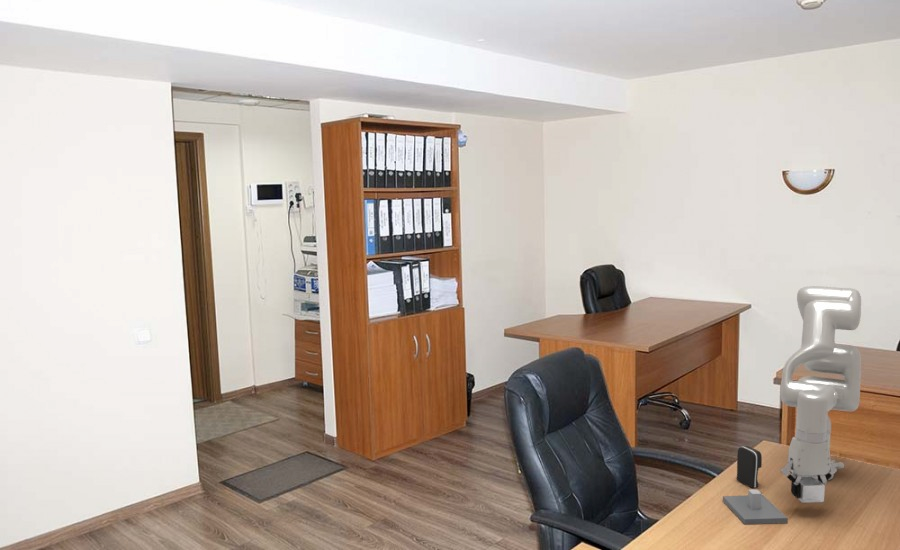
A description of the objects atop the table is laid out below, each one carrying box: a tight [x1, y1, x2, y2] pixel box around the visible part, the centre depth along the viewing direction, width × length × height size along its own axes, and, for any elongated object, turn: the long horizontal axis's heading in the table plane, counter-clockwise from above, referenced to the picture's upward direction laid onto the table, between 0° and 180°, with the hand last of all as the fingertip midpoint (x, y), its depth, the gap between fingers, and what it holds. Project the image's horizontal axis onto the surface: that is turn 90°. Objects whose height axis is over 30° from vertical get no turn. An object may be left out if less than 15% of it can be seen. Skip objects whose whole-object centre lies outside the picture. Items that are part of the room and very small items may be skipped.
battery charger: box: [736, 445, 763, 489], centre depth 212 cm, size 7×4×11 cm, turn 23°
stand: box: [722, 489, 789, 525], centre depth 194 cm, size 12×14×6 cm
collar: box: [797, 475, 826, 504], centre depth 193 cm, size 6×6×5 cm
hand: (807, 495), depth 193 cm, fingers closed on collar, 5 cm apart
